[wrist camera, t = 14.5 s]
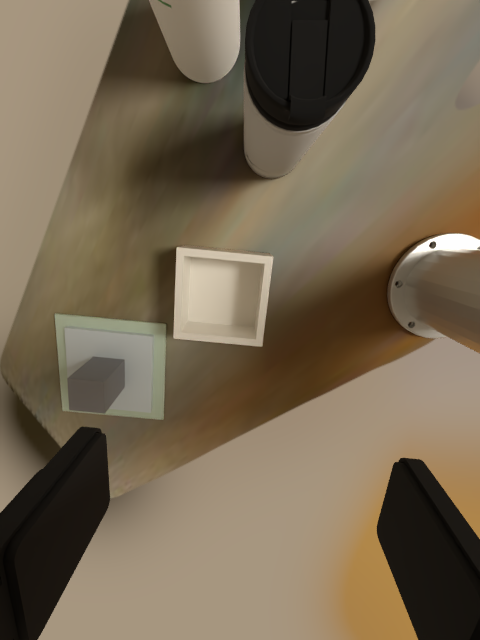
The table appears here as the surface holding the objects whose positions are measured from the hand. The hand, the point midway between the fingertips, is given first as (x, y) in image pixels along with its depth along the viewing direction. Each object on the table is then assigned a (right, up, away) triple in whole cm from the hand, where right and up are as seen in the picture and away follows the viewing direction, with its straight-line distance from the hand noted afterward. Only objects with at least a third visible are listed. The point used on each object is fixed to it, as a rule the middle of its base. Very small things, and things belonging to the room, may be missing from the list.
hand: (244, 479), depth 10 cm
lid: (-17, -1, +30) cm, 35 cm away
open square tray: (-2, +9, +28) cm, 29 cm away
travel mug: (+3, +24, +23) cm, 33 cm away
